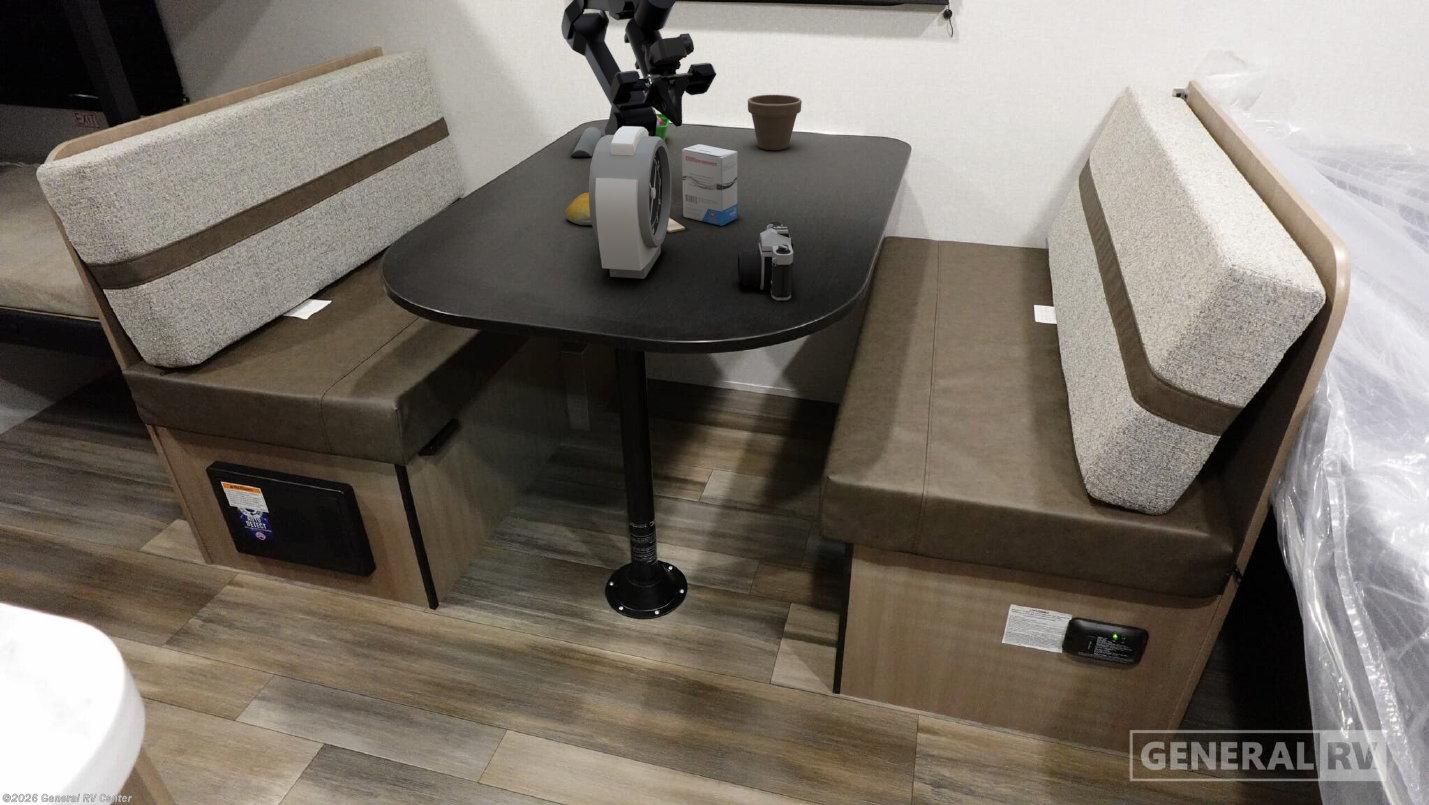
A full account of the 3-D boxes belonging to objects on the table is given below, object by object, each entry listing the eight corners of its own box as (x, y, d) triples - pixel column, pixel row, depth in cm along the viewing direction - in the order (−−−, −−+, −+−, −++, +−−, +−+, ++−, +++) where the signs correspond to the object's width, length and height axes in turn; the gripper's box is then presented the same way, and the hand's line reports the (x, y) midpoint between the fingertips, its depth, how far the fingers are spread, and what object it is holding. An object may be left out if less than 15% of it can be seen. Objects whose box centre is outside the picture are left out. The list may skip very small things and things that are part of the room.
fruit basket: (668, 150, 190) (666, 95, 184) (627, 150, 190) (624, 95, 184) (671, 136, 199) (669, 84, 194) (632, 136, 199) (629, 84, 194)
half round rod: (570, 158, 184) (569, 149, 183) (583, 134, 201) (582, 126, 200) (590, 158, 184) (590, 149, 183) (601, 134, 201) (601, 126, 200)
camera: (733, 266, 133) (732, 210, 128) (784, 264, 133) (786, 208, 128) (742, 309, 122) (742, 249, 117) (798, 306, 123) (800, 246, 118)
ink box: (738, 218, 151) (739, 149, 145) (721, 226, 148) (721, 156, 142) (699, 209, 156) (698, 142, 150) (681, 217, 152) (680, 148, 146)
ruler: (628, 206, 158) (628, 203, 157) (643, 203, 159) (643, 201, 159) (669, 232, 146) (669, 230, 145) (685, 229, 147) (685, 227, 147)
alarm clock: (648, 289, 126) (642, 147, 115) (591, 285, 127) (579, 144, 117) (675, 244, 141) (671, 115, 130) (624, 241, 142) (616, 113, 132)
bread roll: (561, 225, 149) (558, 202, 147) (577, 208, 157) (575, 186, 154) (608, 228, 148) (606, 205, 146) (622, 211, 155) (621, 188, 153)
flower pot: (765, 137, 198) (766, 90, 193) (809, 144, 193) (811, 97, 187) (736, 148, 190) (737, 100, 185) (781, 156, 185) (782, 107, 179)
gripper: (611, 21, 144) (643, 103, 142) (710, 12, 152) (742, 90, 149) (596, 64, 154) (625, 142, 152) (690, 54, 162) (720, 128, 159)
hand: (679, 124), depth 153 cm, fingers closed
